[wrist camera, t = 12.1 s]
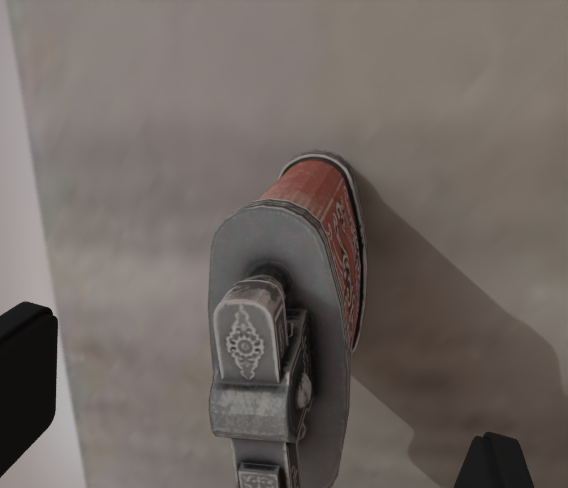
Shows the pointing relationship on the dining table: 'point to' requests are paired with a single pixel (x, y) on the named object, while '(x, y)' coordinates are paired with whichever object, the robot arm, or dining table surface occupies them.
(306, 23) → the dining table surface
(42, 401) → the robot arm
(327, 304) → the lighter
